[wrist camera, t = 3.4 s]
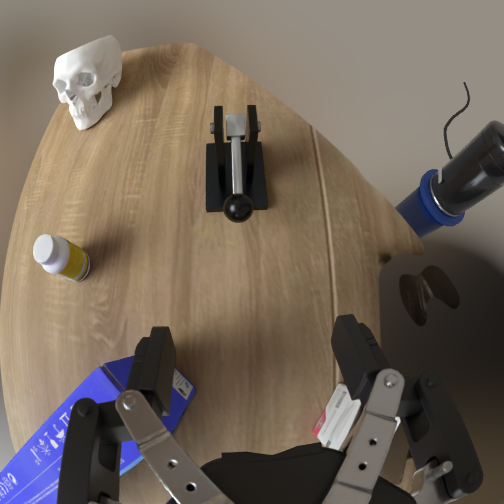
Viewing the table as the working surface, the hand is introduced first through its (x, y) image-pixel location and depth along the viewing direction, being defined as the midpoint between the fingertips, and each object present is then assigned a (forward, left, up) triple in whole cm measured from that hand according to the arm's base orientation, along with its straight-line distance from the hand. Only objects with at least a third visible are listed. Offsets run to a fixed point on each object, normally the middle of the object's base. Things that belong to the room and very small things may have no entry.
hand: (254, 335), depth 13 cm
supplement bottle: (+12, -25, -25) cm, 37 cm away
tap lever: (-13, -14, -17) cm, 25 cm away
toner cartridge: (+29, -3, -25) cm, 39 cm away
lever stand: (-16, -17, -25) cm, 34 cm away
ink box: (0, +19, -25) cm, 31 cm away
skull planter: (-11, -57, -25) cm, 63 cm away
